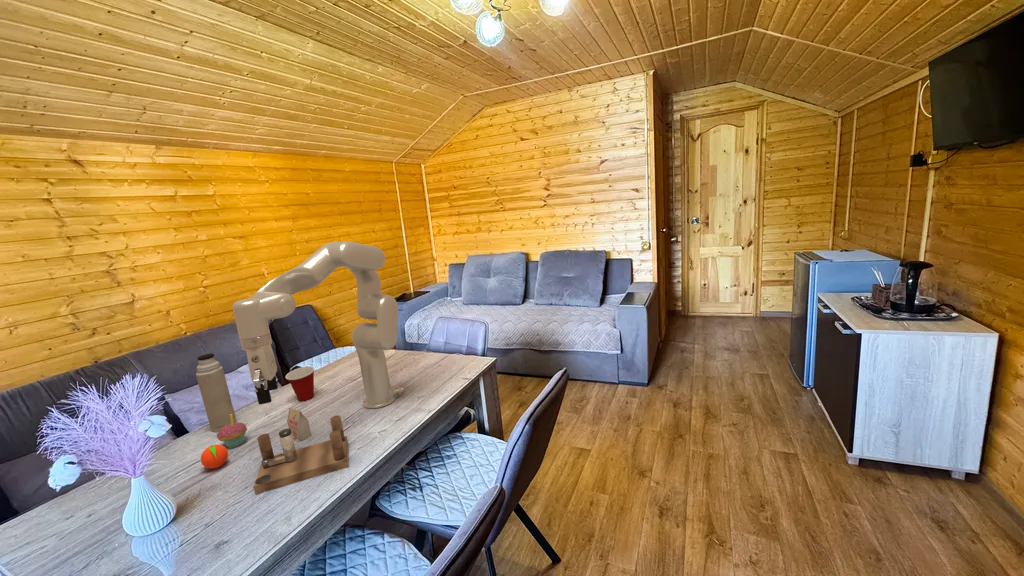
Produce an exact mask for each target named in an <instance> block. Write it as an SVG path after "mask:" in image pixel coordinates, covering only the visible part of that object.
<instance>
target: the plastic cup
mask: <svg viewBox="0 0 1024 576" xmlns="http://www.w3.org/2000/svg"><path fill="white" fill-rule="evenodd" d="M314 373H315V367H314V366H303V367H298V368H296V369H293V370H291V371H289V372H288V373H287V374H286V375H285V379H286V380H287V381H288V383H289V384H290V386H291V388H292V389H293V391H294V394H295V396H296V398H297V400H298V402H300V403H303V401H304V402H308V401H311V400H312V399H313V398H315V397H314V395H315V390H314V389H315V382H314V378H315V377H314V376H315V375H314ZM307 400H308V401H307Z"/></svg>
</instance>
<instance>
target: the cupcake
mask: <svg viewBox="0 0 1024 576" xmlns="http://www.w3.org/2000/svg"><path fill="white" fill-rule="evenodd" d="M230 419H231V423H230V424H227V425H225V426H224V427H223V428H221V429H220V430H219V432H216V438H217V440H218V441H220V442H223V443H224V444H225V445H226V447H227V448H230V449H231V448H235V447H239V446H240V445H242V444H243V443H244V441H245V436H246V435H245V434H246V432H247V431H248V427H247V425H246V424H245V423H244V422H238V421H237V423H233V416H232V413H231V414H230Z"/></svg>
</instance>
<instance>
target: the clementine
mask: <svg viewBox="0 0 1024 576" xmlns="http://www.w3.org/2000/svg"><path fill="white" fill-rule="evenodd" d="M228 457H229V451H228V449H227V448H226V446H224V445H222V444H212V445H210V446H209V445H208V446H207V447H206V448H205V449H204V450H203V451H202V453H201V456H200V463H201V465H202V466H203V467H204V468H207V469H213V470H214V469H217V468H219V467H221V466H223V465H224V464H225V463H226V461H227V459H228Z"/></svg>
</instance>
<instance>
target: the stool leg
mask: <svg viewBox="0 0 1024 576" xmlns="http://www.w3.org/2000/svg"><path fill="white" fill-rule="evenodd" d="M278 435H279V440H280V445H281V448H282V453H284V456H281V457H277V458H274V459H270V460H269V458H265V459H263V460H261V462H262V466H263V468H266V467H269V466H272V465H275V464H279V463H282V462H291V461H294V460H295V459H296V458H297V453H296V450H297V449H296V445H295V441H294V438H293V436H292V432H291V429H289V428H285V429H282V430H280V431H279V432H278Z"/></svg>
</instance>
